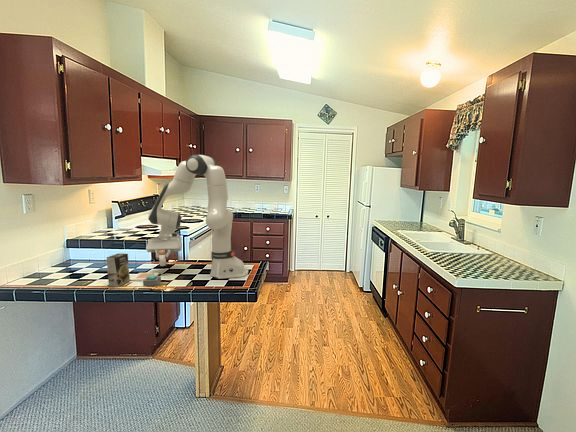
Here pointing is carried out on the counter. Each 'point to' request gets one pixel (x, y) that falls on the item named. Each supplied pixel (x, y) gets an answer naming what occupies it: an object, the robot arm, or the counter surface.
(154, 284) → the button housing
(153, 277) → the button
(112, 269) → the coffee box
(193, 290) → the counter surface
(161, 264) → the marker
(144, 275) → the picture board
